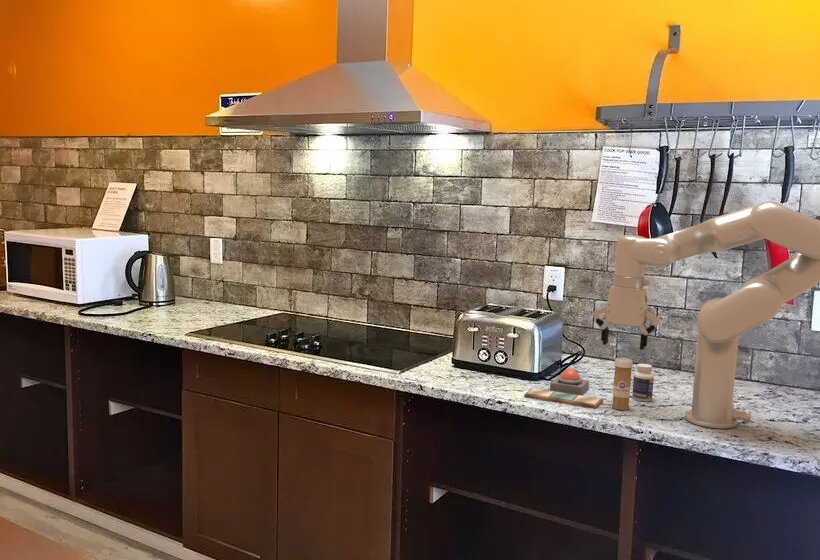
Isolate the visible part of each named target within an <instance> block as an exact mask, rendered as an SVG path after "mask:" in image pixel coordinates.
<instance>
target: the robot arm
mask: <svg viewBox="0 0 820 560" xmlns="http://www.w3.org/2000/svg"><path fill="white" fill-rule="evenodd" d="M764 239H765V240H768V241H770V242H772V243H773V244H774V243H775V244H777V245H779V246H781V247H784V248H786V249H788V250H791V251H794V252H795V253H794V254H793V255H791V257H790V258H788V259H787V260H785V261H783V262H781V263H780V264H778V265H777V266H775V267H773V268H772V269H769V270H768V271H766V272H764V273H762V274H760V275H757V276H756V277H754V278H752V279H749V280H747V281H746V282H745V283H743V285H742V286H741V288H739V289H737V290H735V291H734V292H731V293H730V294H728V295H727V296H724V297H723V298H712V299H711V300H708V301H707V302H705V303H704V305H702V307H701V309H700V310H699V313H698V315H697V319H696V327H697V330H698V331H697V340H696V341H697V343H696V353H695V363H694V365H695V366H694V378H693V390H692V399H691V400H692V402H691V409H690V410H687V411H685V413H684V419H685V420H686V421H687V422H689V423H690V424H691V423H692V424H693V425H696V426H701V427H705V428H710V429H711V428H712V429H732V428H734V427H736V426H738V421H739V420H740V421H741V420H742V421H744V422H745V421H746V422H751V418H752V414H751V413H749V412H747V411H744V410H737V409H736V408H735V404H734V403H733V401H734V388H735V379H736V368H737V360H738V359H737V358H738V347H739V337H740V336H741V335H744V334H745V333H747V332H749V331H751V330H753V329H755V328H756V327H759V326H761V325H762V324H765V323H766V322H768V321H770V320H771V319H773V318H774V317H775V316H777V314H778V313H779V312H780V310H781V308H782V307H783V305H784V304H786V303H788V302H789V301H791V300H793V299H795V298H796V297H798V296H800V295H802V294H803V293H806V292H807V291H808V290H810V289H812V288H813V287H815V286H817V285H818V284H819V283H820V220H819V219H817V218H814V217H811V216H808V215H806V214H803V213H801V212H798V210H797V211H796V210H794V209H792V208H790V207H787V206H786V205H783V204H781V203H779V202H777V201H771V200H769V201H764V202H760V203H757V204H754V205H751V206H748V207H744V208H741V209H738V210H735V211H731V212H729V213H725V214H722V215H719V216H715V217H713V218H709V219H707V220H704V221H703V222H701V223H698V224H695V225H693V226H689V227H686V228H683V229H679V230H677V231H674V232H671V233H668V234H663V235H660V236H657V237H652V238H648V237H647V238H646V237H644V236H641V235H632V234H631V235H630V234H625V235H624V234H623V235H621V236H619V237H618V238H617V241H616V252H615V253H616V254H615V265H614V276H613V278H614V279H613V285H611V286H610V289H609V294H608V296H607V297H608V298H607V303H606V306H605V307H602V308H600V309H596V310H594V311H593V312H592V315H593V317H594V320H595V323H596V324H597V325H598V326H599V327H600V330H601V336H600V340H601V342H602V345H604V346H605V345H607V344H609V343H608V342H609V334H610V333H609V331H610V330H609V326H610V325H616V326H617V325H618V326H625V327H633V328H639V330H640V331H641V333H642V334H640V341H639V350H641V351H643V350H644V349H645V348H646V347H647V346H648V339H649V338H648V337H649V334H650V333H651V332H653V331H654V330H656V328H657V326H658V325H659V324H660V322H661V319H660V318H659V317H658V316H656V315H654V314H653V313H651V312H649V311H648V290H647V288H645V286H650V283H651V282H650V279H646V278H645V271H646V265H648V266H651V267H657V268H665V267H668V266H670V265H671V264H672V263H675V262H677V261H680V260H684V259H687V258H691V257H694V256H697V255H701V254H705V253H717V252H724V251H728V250H731V249H733V248H737V247H741V246H744V245H747V244H751V243H754V242H758V241H761V240H764ZM604 313H605V321H604V320H603V319H602V318H601V315H602V314H604ZM647 319H649V320H650V321H652V323H651V325H650V326H647V325H646V324H647Z"/></svg>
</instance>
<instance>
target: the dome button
mask: <svg viewBox="0 0 820 560" xmlns="http://www.w3.org/2000/svg"><path fill="white" fill-rule="evenodd" d="M558 376H559V377H558ZM558 376H557V377H558V381H560V382H562V383H564V384H571V385H577V384H578V383H581V382H582V379H583V378H582V377H580V374H579V372H578V371H576V369H572V368H568V369H565V370H563V371H562V373H561V375H558Z"/></svg>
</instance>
